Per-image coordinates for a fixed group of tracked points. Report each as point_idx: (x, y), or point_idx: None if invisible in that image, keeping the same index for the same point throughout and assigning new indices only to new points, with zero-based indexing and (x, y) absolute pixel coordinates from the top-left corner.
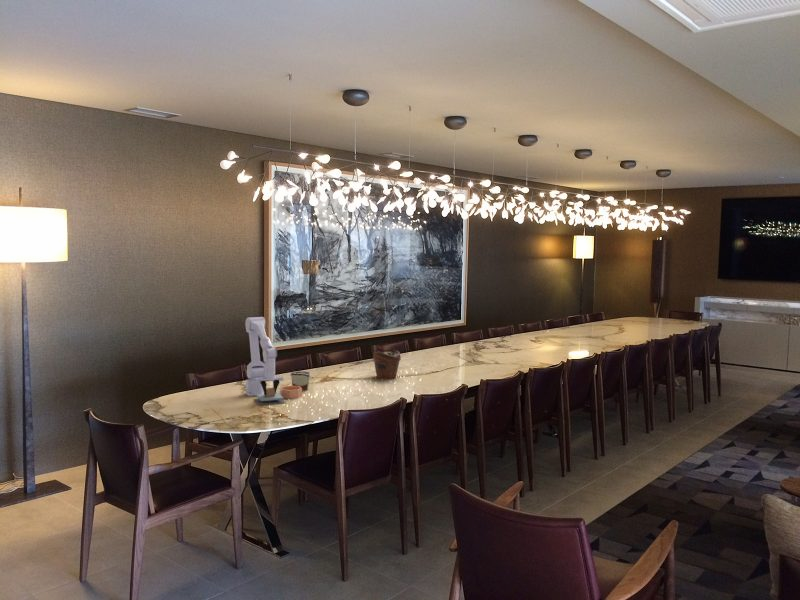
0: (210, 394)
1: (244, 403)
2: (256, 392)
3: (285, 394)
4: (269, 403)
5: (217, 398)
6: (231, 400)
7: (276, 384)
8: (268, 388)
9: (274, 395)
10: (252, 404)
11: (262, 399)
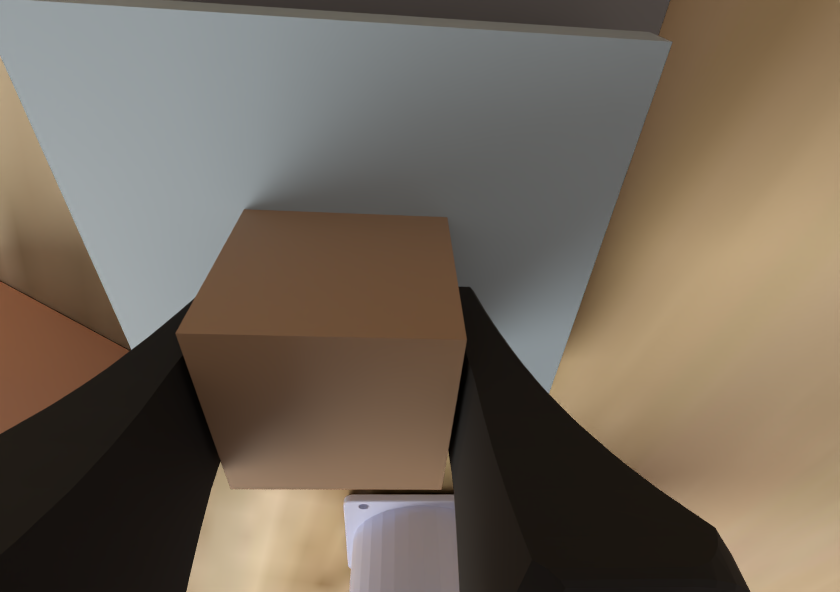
0: (756, 582)
1: (778, 256)
2: (441, 530)
3: (35, 364)
4: (428, 4)
5: (818, 505)
6: (781, 425)
7: (4, 489)
8: (363, 445)
9: (248, 223)
10: (727, 142)
11: (639, 39)
